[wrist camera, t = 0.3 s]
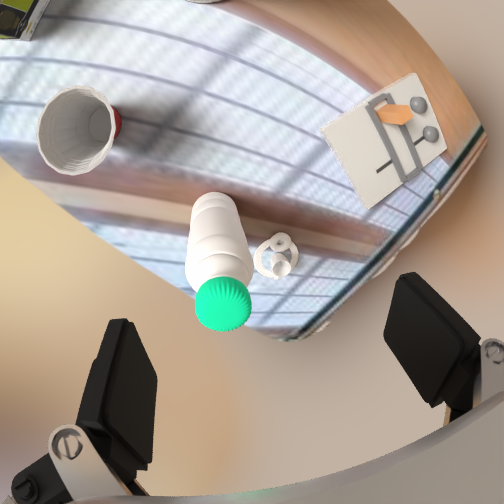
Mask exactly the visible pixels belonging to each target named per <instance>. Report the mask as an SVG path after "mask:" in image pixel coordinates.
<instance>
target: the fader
mask: <svg viewBox="0 0 504 504" xmlns="http://www.w3.org/2000/svg"><path fill="white" fill-rule="evenodd" d="M375 112H376V114H377V116H378V117H379V119H380V121H381V122H385V123H392V124H399V125H403V124H404V123H406V122H407V121H408V120H410V119H411V118H413V117H414V116H413V114H412V112H411V110H410V108H409V105H397V104H386V105H384V106H383V107H381V108H379V109H378V110H376V111H375Z"/></svg>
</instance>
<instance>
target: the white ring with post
mask: <svg viewBox="0 0 504 504" xmlns="http://www.w3.org/2000/svg"><path fill="white" fill-rule="evenodd" d="M278 244H281V245H278ZM268 246H270V247H271V249H272V250H274V251H276V252H283V251H285V250H287V249H288V248H289V249H290V250H291V253H292V259H291V262H290V263H289V261H288V260H287V258H286V257H285V256H284V255H283V254H281V253H275V254H273V255H272V257H271V260H270V262H271V267H272V271H273V272H272V271H269V270H267V269H265V268H264V267H263V265H262V263H261V255H262V253H263V251H264V250H265V249H266V248H267V247H268ZM298 256H299V254H298V249H297V247H296V245H295V244H294V243H293V242H292V241H291V238H290V236H289V235H287V234H286V233H282V232H280V233H276V234H274V235H273V236H272V237H271V239H268V240H266V241H265V242H263V243H262V244H261V245H260V246H259V247H258V249H257V250H256V252H255V255H254V264H255V267H256V269H257V270H258V272H259V273H261V274H262V275H264V276H266V277H270V278H275V280H279V277H283V276H286V275H287V274H288V273H289V272H290V271H292V270H293V268H294V267H295V266H296V264H297V261H298ZM279 261H280V262H279Z"/></svg>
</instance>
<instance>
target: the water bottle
mask: <svg viewBox="0 0 504 504" xmlns="http://www.w3.org/2000/svg"><path fill="white" fill-rule="evenodd" d="M253 270H254V264H253V259H252V256H251V253H250V251H249V249H248V244H247V240H246V237H245V234H244V231H243V228H242V226H241V222H240V218H239V215H238V211H237V208H236V205H235V203H234V201H233V200H232V199H231V198H230V197H229V196H227V195H225V194H223V193H220V192H210V193H206V194H204V195H202V196H201V197H200V198H199V199H198V200H197V201H196V202H195V204H194V206H193V209H192V218H191V223H190V233H189V239H188V248H187V258H186V262H185V272H186V277H187V280H188V282H189V284H190V285H191V287H192V288H193V289H194V290H195V291H196V292H197V294H196V299H195V310H196V314H197V316H198V319H199V320H200V322H201V323H202V324H203V325H204V326H206V327H207V328H210V329H213V330H215V331H216V330H218V331H223V332H224V331H229V330H233V329H237V328H238V327H240V326H241V325H243V324H244V323H245V322H246V321H247V319H248V318H249V317H250V314H251V309H252V306H251V305H252V303H251V298H250V294H249V292H248V290H247V286H248V285H249V283H250V281H251V279H252V276H253Z"/></svg>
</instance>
